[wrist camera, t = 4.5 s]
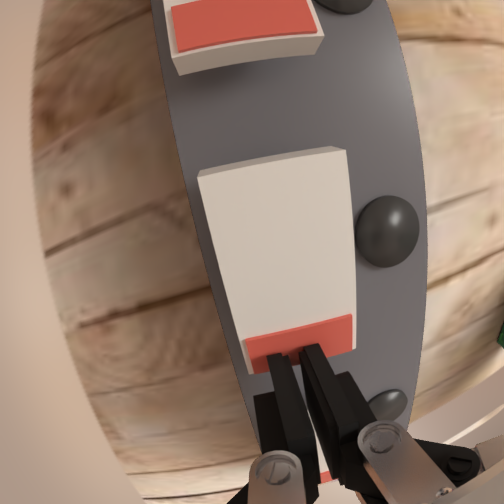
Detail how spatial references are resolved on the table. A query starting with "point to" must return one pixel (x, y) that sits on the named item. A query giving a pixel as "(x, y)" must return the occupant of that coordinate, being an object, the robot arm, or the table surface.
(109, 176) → the table surface
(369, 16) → the rocker switch panel
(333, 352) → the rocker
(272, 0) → the rocker
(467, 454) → the robot arm
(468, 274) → the table surface
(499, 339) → the coffee box
